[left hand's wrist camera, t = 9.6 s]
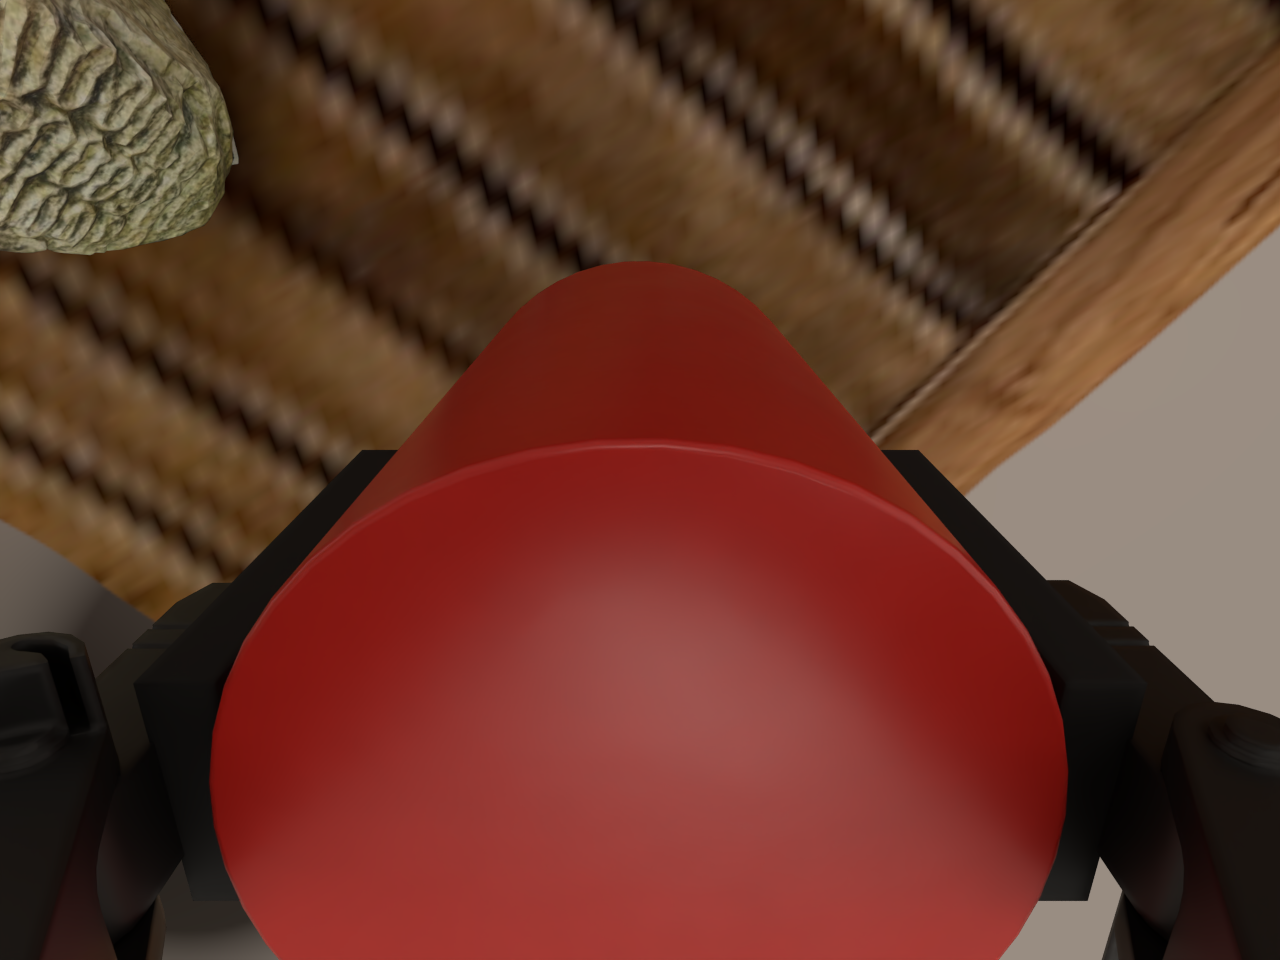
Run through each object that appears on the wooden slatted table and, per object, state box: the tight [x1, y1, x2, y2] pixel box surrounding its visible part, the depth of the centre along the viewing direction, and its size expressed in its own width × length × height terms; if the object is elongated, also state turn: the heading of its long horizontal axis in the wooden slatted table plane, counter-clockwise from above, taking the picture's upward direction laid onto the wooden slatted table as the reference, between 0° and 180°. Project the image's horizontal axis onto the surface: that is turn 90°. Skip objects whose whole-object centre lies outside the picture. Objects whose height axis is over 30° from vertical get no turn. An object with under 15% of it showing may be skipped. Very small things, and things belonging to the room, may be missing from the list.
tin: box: [209, 261, 1068, 960], centre depth 13 cm, size 8×8×12 cm
